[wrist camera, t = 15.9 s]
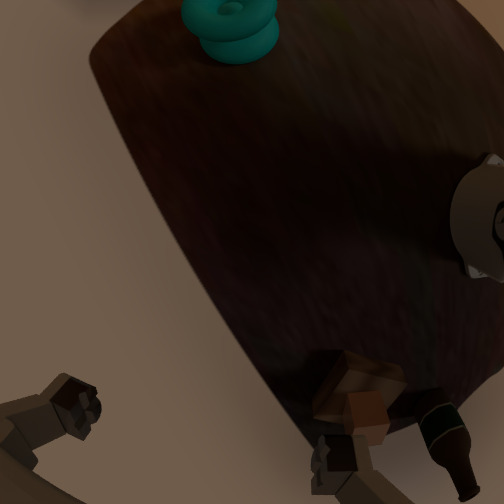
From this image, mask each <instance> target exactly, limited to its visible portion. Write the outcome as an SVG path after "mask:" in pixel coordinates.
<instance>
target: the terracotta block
mask: <svg viewBox="0 0 504 504" xmlns="http://www.w3.org/2000/svg"><path fill="white" fill-rule="evenodd" d="M343 420H344V426H345V433H346V435H365V436H366V439H367V444H368V446H374V445H381V444H382V442H383V440H384V438H385V435H386V433H387V431H388V428H389V426H390V420H389V417H388V414H387V411H386V408H385V405H384V402H383V399H382V396H381V393H380V390H377V391H367V392H357V393H347V398H346V402H345V407H344V411H343Z"/></svg>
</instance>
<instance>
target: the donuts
mask: <svg viewBox="0 0 504 504" xmlns="http://www.w3.org/2000/svg"><path fill="white" fill-rule="evenodd" d="M228 2H229V3H228ZM225 3H226V4H225ZM276 8H277V0H184V1H183V3H182V8H181V15H182V20H183V22H184V24H185V26H186V27H187V28H188V30H189V31H190V32H192V33H193V34H194V35H196V36H198V37H199V40H200V44H201V46H202V48H203V49H204V51H205V52H206V53H207V54H208V55H209V56H210V57H212V58H213V59H215V60H217V61H219V62H222V63H226V64H246V63H250V62H253V61H256V60H258V59H260V58H262V57H263V56H265V55H266V54H267V53H268V52H269V51H270V50H271V49H272V48H273V47H274V45H275V43H276V41H277V39H278V35H279V26H278V22H277V20H276V18H275V16H274V14H275V12H276Z"/></svg>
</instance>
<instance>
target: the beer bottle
mask: <svg viewBox="0 0 504 504" xmlns="http://www.w3.org/2000/svg"><path fill="white" fill-rule="evenodd" d="M413 412H414V415H415V418H416V420H417V423H418V425H419V427H420V430H421V433H422V435H423V438H424V441H425V443H426V446H427V449H428V451H429V453H430V455H431V457H432V459H433V460H434V461H435V462H436V463H437V464H438V465H440V466H442V467H445V468H446V469H447V471H448V472H449V474H450V476H451V478H452V480H453V483H454V485H455V487H456V489H457V492H458V494H459V498H458V499H459V500H460V502H466V501H468V500H470V499H472V498H473V497H475V496H476V495H477V494H478V493H479V492H480V486H477V483H476V479H475V476H474V473H473V470H472V467H471V464H470V459H469V452H470V448H471V438H470V435H469V432H468V430H467V428H466V426H465V424H464V422H463V421H462V419H461V417H460V415H459V413H458V411H457V409H456V408H455V406H454V404H453V402H452V400H451V399H450V397H449V396H448V394H447V393H446V392H445V391H444V390H443V389H442V388H439V389H435V390H431V391H428V392H427V393H426V394H424V395H423V396H422V397H421V398H419V399H418V400H417V403H416V405H415V408H414V411H413Z"/></svg>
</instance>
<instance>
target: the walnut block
mask: <svg viewBox="0 0 504 504" xmlns="http://www.w3.org/2000/svg"><path fill="white" fill-rule="evenodd" d="M407 384H408V382H407V380H406V377H405V375H404V373H403V371H402V369H401V367H400V365H396V364H392V363H388V362H384V361H381V360H377V359H373V358H370V357H366V356H363V355H359V354H356V353H352V352H349V351H345V350H343V352H342V354H341V355H340V357H339V358H338V360H337V362H336V363H335V365H334V366H333V368H332V369H331V371H330V372H329V374H328V376H327V377H326V379H325V380H324V382H323V383H322V384H321V386H320V387H319V389H318V390H317V392H316V393H315V395H314V396H313V398H312V410H313V418H314V419H319V420H323V421H328V422H333V423H339V424H344V420H343V411H344V407H345V402H346V398H347V393H357V392H367V391H377V390H380V393H381V396H382V399H383V402H384V405H385V408H386V410H387V409H388V408H389V407H390V406H391V404H392V403H393V402H394V401H395V400H396V398H397V397H398V396H399V395H400V393H401V392H402V391H403V390H404V388H405V387H406V386H407Z"/></svg>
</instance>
